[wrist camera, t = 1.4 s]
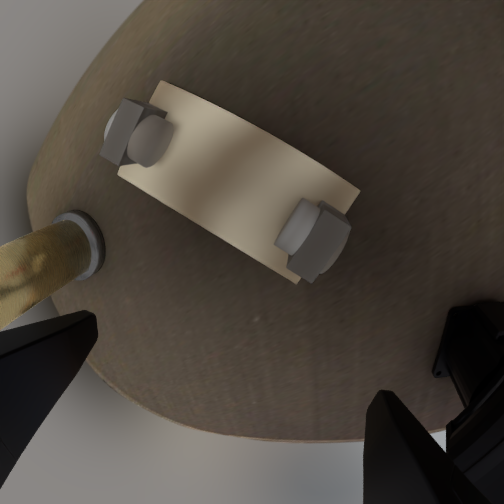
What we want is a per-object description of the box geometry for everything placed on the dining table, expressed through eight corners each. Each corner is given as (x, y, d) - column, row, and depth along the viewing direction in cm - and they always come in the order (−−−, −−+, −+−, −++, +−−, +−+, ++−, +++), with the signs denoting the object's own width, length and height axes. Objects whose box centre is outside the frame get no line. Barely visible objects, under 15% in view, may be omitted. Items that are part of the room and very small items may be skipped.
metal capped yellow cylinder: (111, 275, 23) (-7, 367, 10) (65, 273, 24) (-41, 346, 11) (98, 207, 21) (-46, 268, 9) (52, 213, 22) (-71, 265, 10)
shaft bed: (362, 191, 17) (375, 202, 14) (300, 281, 20) (298, 310, 16) (162, 80, 17) (132, 69, 13) (120, 171, 20) (87, 178, 16)
